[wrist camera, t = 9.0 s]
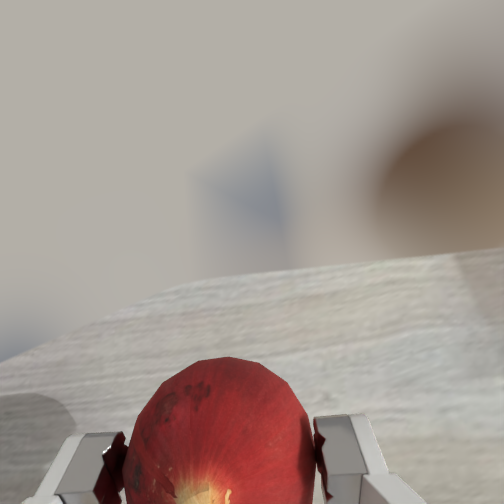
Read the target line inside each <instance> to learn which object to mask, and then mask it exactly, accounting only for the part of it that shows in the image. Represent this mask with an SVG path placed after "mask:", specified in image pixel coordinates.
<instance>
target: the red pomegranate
mask: <svg viewBox="0 0 504 504" xmlns="http://www.w3.org/2000/svg"><path fill="white" fill-rule="evenodd" d="M315 471H316V456H315V450H314V441H313V436H312V432H311V428H310V423H309V419H308V415H307V413H306V412H305V410H304V409H303V407H302V405H301V404H300V402H299V401H298V399H297V397H296V396H295V394H294V393H293V391H292V389H291V388H290V386H289V385H288V383H287V382H286V381H284V380H283V379H281V378H280V377H279V376H277V375H276V374H274V373H273V372H271V371H270V370H268V369H267V368H265V367H264V366H263V365H261V364H260V363H257V362H252V361H247V360H242V359H238V358H233V357H223V358H216V359H208V360H201V361H197V362H196V363H194V364H192V365H190V366H189V367H187V368H186V369H184V370H182V371H181V372H179V373H177V374H176V375H174V376H173V377H171V378H169V379H168V380H166V381H165V382H163V383H162V384H161V386H160V387H159V388H158V390H157V391H156V392H155V394H154V395H153V397H152V398H151V399H150V401H149V402H148V403H147V405H146V406H145V407H144V409H143V410H142V411H141V413H140V414H139V415H138V417H137V420H136V423H135V426H134V430H133V433H132V436H131V440H130V443H129V447H128V450H127V454H126V457H125V461H124V464H123V468H122V474H123V481H124V488H125V495H126V501H127V504H312V501H313V491H314V481H315Z"/></svg>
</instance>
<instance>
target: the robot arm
mask: <svg viewBox="0 0 504 504" xmlns="http://www.w3.org/2000/svg"><path fill="white" fill-rule="evenodd" d="M313 425H314V430H315V434H314V450H315V456H316V463H317V468H318V471H319V472H320V474H321V489H322V494H323V499H324V504H427V503H426V502H425V501H424V500H423V499H422V498H421V497H420V496H419V495H418V494H417V493H416V492H415V491H414V490H413V489H412V488H411V487H410V486H409V485H408V484H407V483H405V482H404V481H403V480H402V479H401V478H400V477H399V476H398V475H397V474H396V473H390V472H389V470H388V467H387V465H386V462H385V460H384V457H383V455H382V452H381V450H380V447H379V445H378V442H377V439H376V437H375V434H374V432H373V429H372V427H371V424H370V422H369V419H368V417H367V416H366V414H364V413H360V414H350V415H347V414H342V415H331V416H320V417H314V419H313ZM125 439H126V438H125V436H124V434H123V432H122V431H121V432H103V433H83V434H71V435H70V436H69V437H68V438H67V439H66V440H65V441H64V443H63V444H62V446H61V448H60V450H59V452H58V453H57V455H56V457H55V459H54V460H53V462H52V464H51V466H50V468H49V469H48V471H47V473H46V475H45V477H44V478H43V480H42V482H41V484H40V486H39V487H38V489H37V491H36V493H35V495H34V496H33V497H28V498H27V499H25V500H24V501H23V502H22V503H21V504H121V502H122V500H121V496H120V491H121V490H122V489H123V488H124V481H123V474H122V468H123V464H124V461H125V457H126V454H127V450H128V447H127V446H126V445H124V442H125Z"/></svg>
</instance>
